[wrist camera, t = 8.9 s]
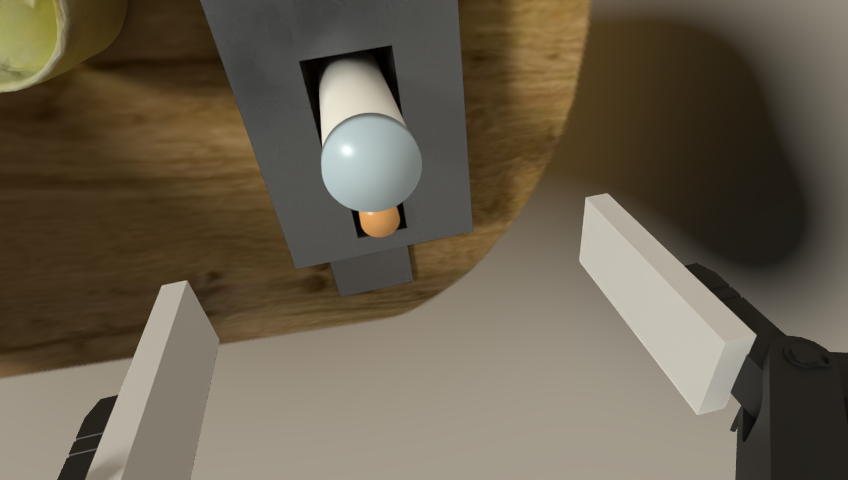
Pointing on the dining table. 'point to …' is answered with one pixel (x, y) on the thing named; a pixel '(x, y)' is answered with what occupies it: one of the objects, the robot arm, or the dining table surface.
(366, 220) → the plunger
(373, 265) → the mat
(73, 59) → the mug
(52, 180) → the dining table surface
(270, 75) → the housing
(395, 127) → the cartridge
